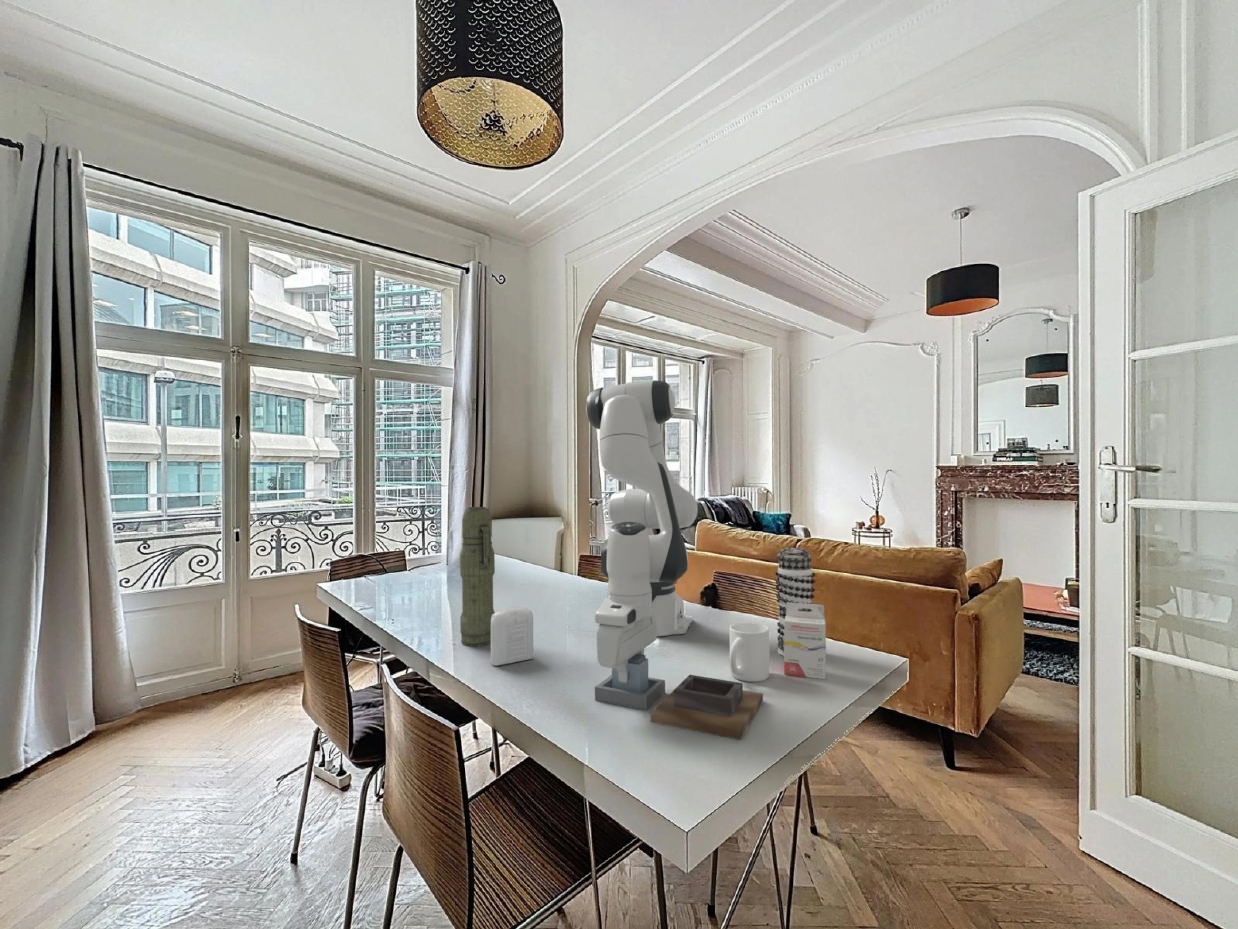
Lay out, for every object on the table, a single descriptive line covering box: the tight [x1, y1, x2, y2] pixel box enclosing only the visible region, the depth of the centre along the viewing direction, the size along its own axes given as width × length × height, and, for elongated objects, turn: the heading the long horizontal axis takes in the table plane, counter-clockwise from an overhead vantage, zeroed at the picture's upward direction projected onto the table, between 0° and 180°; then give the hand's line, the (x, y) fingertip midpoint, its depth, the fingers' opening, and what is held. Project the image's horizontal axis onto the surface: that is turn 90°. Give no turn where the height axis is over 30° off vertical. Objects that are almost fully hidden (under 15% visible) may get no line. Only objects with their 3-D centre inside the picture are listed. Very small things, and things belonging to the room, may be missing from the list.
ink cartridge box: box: [783, 602, 827, 680], centre depth 123 cm, size 9×5×15 cm, turn 71°
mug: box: [729, 622, 771, 683], centre depth 120 cm, size 12×8×10 cm
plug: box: [611, 654, 649, 694], centre depth 112 cm, size 4×6×8 cm, turn 63°
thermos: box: [459, 506, 496, 647], centre depth 149 cm, size 9×12×35 cm
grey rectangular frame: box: [594, 674, 666, 711], centre depth 112 cm, size 9×11×2 cm
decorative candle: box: [775, 547, 816, 657], centre depth 136 cm, size 9×9×25 cm
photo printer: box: [490, 606, 534, 666], centre depth 133 cm, size 10×4×12 cm, turn 123°
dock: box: [650, 674, 764, 741], centre depth 104 cm, size 17×16×4 cm
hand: (630, 676), depth 112 cm, fingers closed on plug, 4 cm apart
